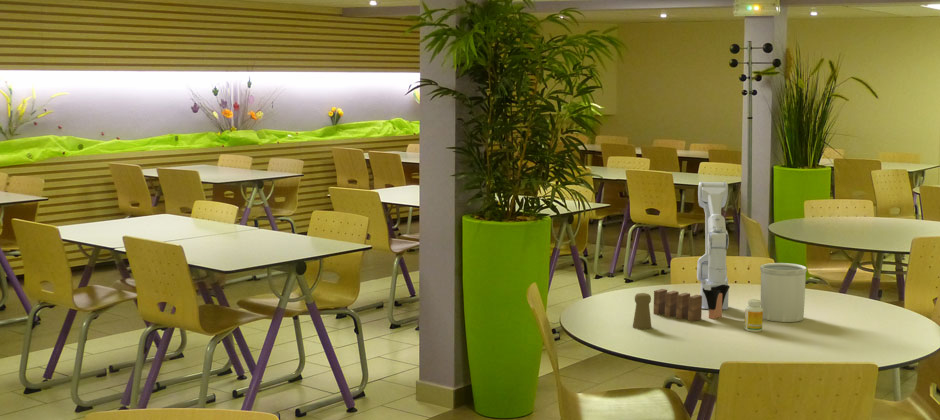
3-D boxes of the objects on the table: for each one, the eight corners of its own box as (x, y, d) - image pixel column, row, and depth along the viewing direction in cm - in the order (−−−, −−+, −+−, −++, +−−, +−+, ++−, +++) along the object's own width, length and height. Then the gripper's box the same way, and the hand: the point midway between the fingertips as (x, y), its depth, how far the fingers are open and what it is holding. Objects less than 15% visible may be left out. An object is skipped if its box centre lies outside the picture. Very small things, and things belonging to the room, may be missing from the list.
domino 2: (677, 314, 336) (678, 291, 335) (669, 317, 332) (670, 293, 331) (672, 313, 337) (673, 290, 336) (664, 316, 333) (665, 292, 332)
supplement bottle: (741, 328, 316) (742, 299, 315) (755, 327, 318) (756, 298, 317) (751, 332, 311) (752, 302, 310) (765, 331, 313) (766, 301, 312)
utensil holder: (750, 317, 331) (752, 266, 329) (770, 310, 342) (772, 260, 340) (792, 325, 321) (794, 272, 319) (811, 317, 332) (814, 266, 330)
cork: (652, 325, 320) (653, 292, 319) (650, 330, 314) (650, 296, 313) (634, 324, 322) (635, 291, 321) (631, 328, 316) (631, 294, 315)
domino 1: (666, 312, 339) (667, 289, 338) (658, 314, 335) (659, 291, 334) (661, 311, 340) (662, 288, 339) (653, 314, 337) (654, 290, 336)
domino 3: (689, 316, 333) (690, 293, 332) (681, 319, 329) (682, 295, 328) (684, 315, 334) (685, 292, 333) (676, 318, 330) (677, 294, 329)
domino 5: (721, 316, 333) (722, 293, 332) (713, 319, 330) (714, 295, 329) (716, 315, 335) (717, 292, 334) (708, 318, 331) (709, 294, 330)
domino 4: (701, 319, 329) (702, 295, 328) (693, 321, 326) (694, 297, 325) (696, 318, 331) (696, 294, 330) (688, 320, 327) (688, 296, 326)
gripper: (714, 263, 338) (713, 302, 340) (696, 269, 327) (695, 309, 328) (734, 265, 334) (732, 305, 335) (716, 272, 322) (715, 313, 324)
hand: (715, 307), depth 332 cm, fingers closed on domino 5, 5 cm apart
